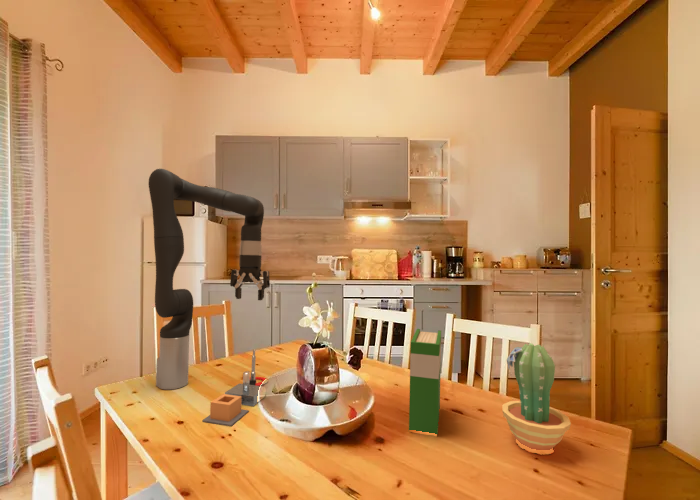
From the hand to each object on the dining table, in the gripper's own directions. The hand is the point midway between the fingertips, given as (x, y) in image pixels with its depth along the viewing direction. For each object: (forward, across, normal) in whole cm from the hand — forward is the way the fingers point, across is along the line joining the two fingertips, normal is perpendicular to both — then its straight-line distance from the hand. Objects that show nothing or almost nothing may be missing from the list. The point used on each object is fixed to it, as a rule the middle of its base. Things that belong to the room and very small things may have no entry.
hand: (249, 299), depth 123 cm
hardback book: (+30, +62, -8) cm, 69 cm away
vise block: (+30, +6, -12) cm, 33 cm away
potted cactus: (+30, +89, -14) cm, 95 cm away
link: (+30, +7, -23) cm, 38 cm away
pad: (+30, +7, -23) cm, 39 cm away
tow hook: (+30, +2, +2) cm, 31 cm away
